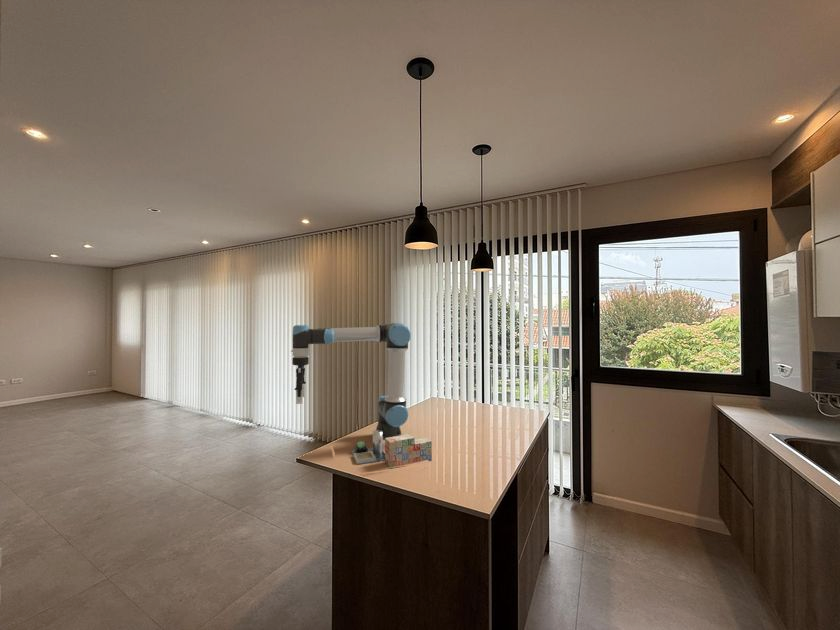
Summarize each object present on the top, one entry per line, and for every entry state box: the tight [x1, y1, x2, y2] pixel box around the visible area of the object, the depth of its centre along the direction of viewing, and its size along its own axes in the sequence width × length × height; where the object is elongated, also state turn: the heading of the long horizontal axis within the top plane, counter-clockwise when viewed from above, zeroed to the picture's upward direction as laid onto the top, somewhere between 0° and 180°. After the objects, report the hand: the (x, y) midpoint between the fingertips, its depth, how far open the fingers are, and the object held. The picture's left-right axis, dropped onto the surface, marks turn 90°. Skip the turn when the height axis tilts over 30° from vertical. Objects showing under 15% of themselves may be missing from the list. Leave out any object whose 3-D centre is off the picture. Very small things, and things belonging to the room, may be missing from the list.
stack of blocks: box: [384, 433, 433, 470], centre depth 157 cm, size 21×6×12 cm, turn 117°
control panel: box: [350, 443, 385, 466], centre depth 163 cm, size 15×19×4 cm
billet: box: [372, 429, 384, 454], centre depth 167 cm, size 5×5×10 cm
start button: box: [356, 440, 366, 449], centre depth 167 cm, size 4×4×3 cm
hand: (300, 400), depth 164 cm, fingers open, 13 cm apart
